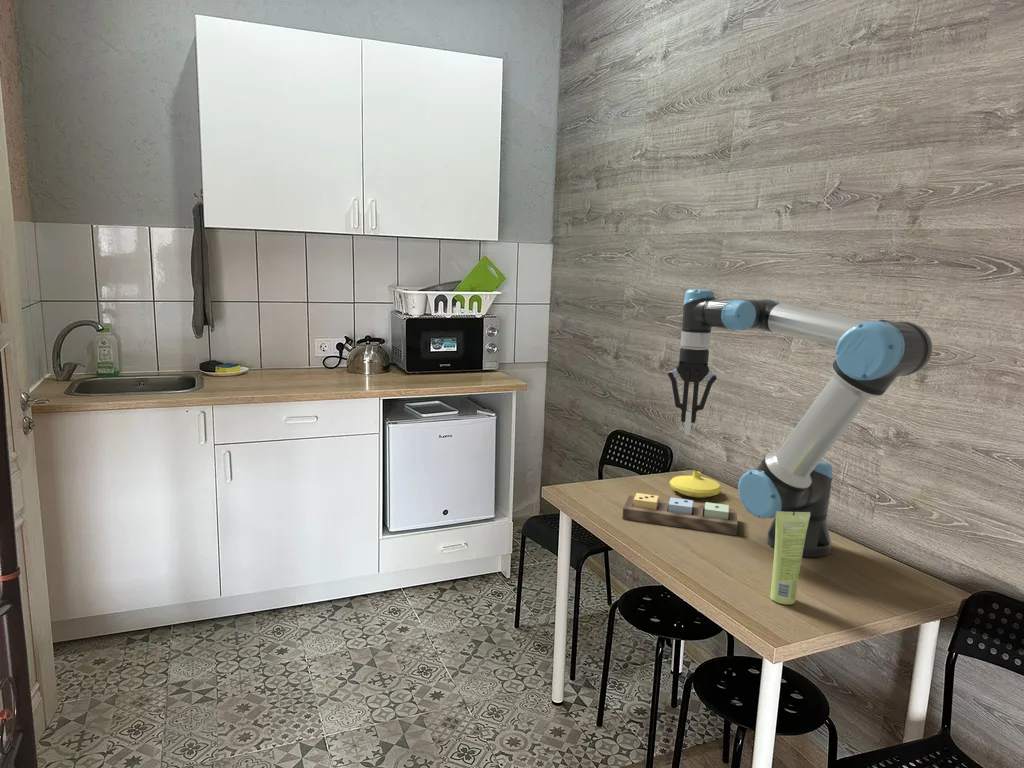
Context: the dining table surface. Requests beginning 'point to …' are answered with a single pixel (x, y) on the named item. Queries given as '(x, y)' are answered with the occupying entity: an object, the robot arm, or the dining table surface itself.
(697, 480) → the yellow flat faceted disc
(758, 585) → the dining table surface
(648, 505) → the tile
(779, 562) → the tube
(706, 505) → the tile
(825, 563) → the dining table surface
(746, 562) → the dining table surface
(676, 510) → the tile
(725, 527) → the board
